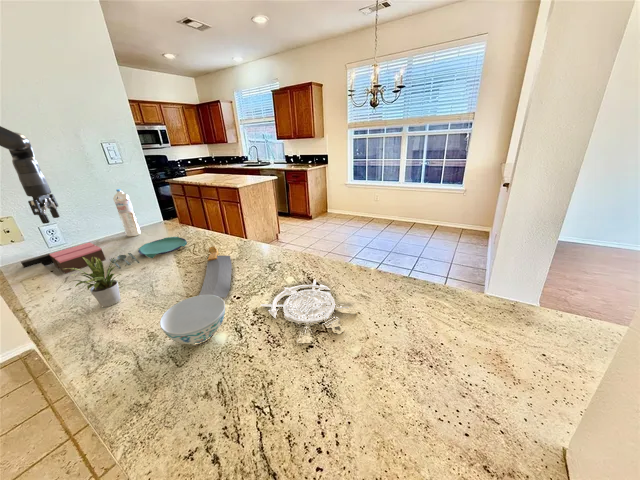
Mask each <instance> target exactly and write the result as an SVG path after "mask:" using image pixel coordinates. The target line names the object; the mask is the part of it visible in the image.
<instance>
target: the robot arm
mask: <svg viewBox="0 0 640 480" xmlns="http://www.w3.org/2000/svg"><path fill="white" fill-rule="evenodd" d="M0 147H2V148H4V149H6V150H8V152H9V154H10V156H11V159H12V160H11V162H12V166H13V168H14V169H15V173H16V174H17V177H18V180H19V182H20V185H21V187H22V188H23V190H24V193H25V195H26V196H27V197H31V198H32V200H28V202H27V203H28V205H29V207H30V210H31V212H32V214H33V215H34V216H38V217H39V219H40V221H41V223H42V224H50V222H51V221H50V220H49V219H50V218H49V217H48V215H47V210H49V212H50V215H51V217H52V218H53V219H58V218H60V214H59V212H58V210H57V209H58V208H59V204H58V202H57V199H56V197H55V195H54V194H53V193H52V190H51V187H50V185H49V183H48V181H47V179H46V177H45V175H44V174H43V172H42V170H41V168H40V165H39V163H38V161H37V159H36V157H35V153H34V149H33V147H32V144H31V142H30V140H29V138H28V137H27V136H25V135H24V134H22V133H20V132H16V131H12V130H10V129H8V128H7V127H6V128H5V127H3V126H1V125H0Z"/></svg>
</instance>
